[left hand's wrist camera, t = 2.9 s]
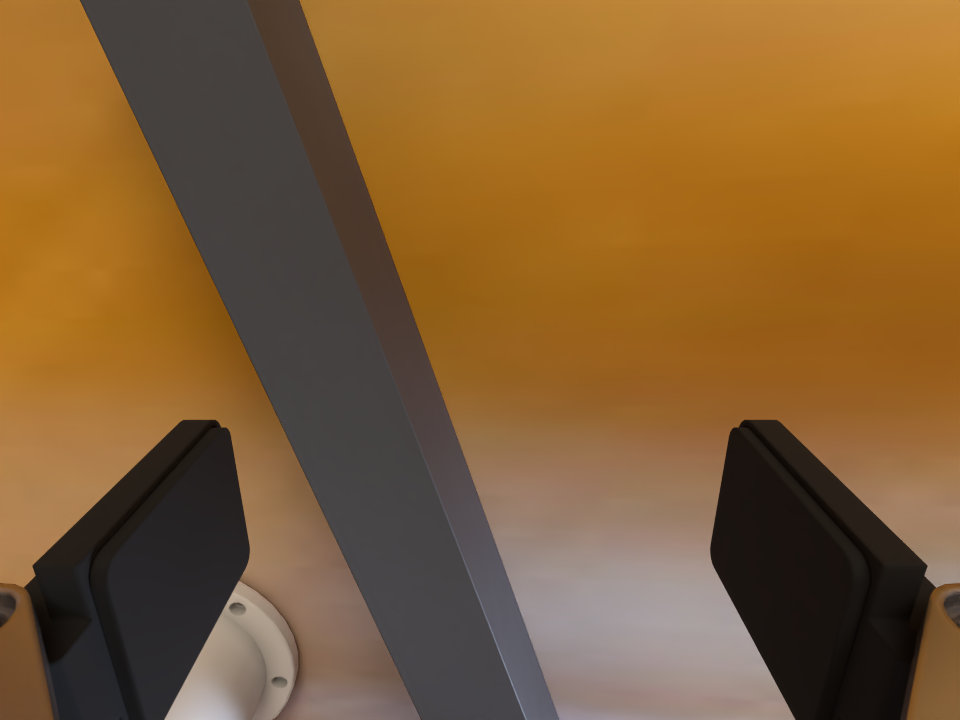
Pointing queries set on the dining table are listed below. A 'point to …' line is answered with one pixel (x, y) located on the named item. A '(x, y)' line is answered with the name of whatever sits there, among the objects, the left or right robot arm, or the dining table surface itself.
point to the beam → (328, 332)
